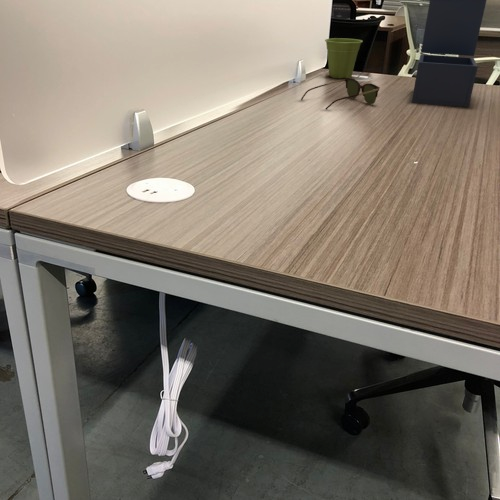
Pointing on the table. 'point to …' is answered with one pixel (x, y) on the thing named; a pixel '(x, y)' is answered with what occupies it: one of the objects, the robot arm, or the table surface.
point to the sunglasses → (355, 90)
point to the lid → (453, 26)
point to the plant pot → (342, 56)
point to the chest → (444, 80)
